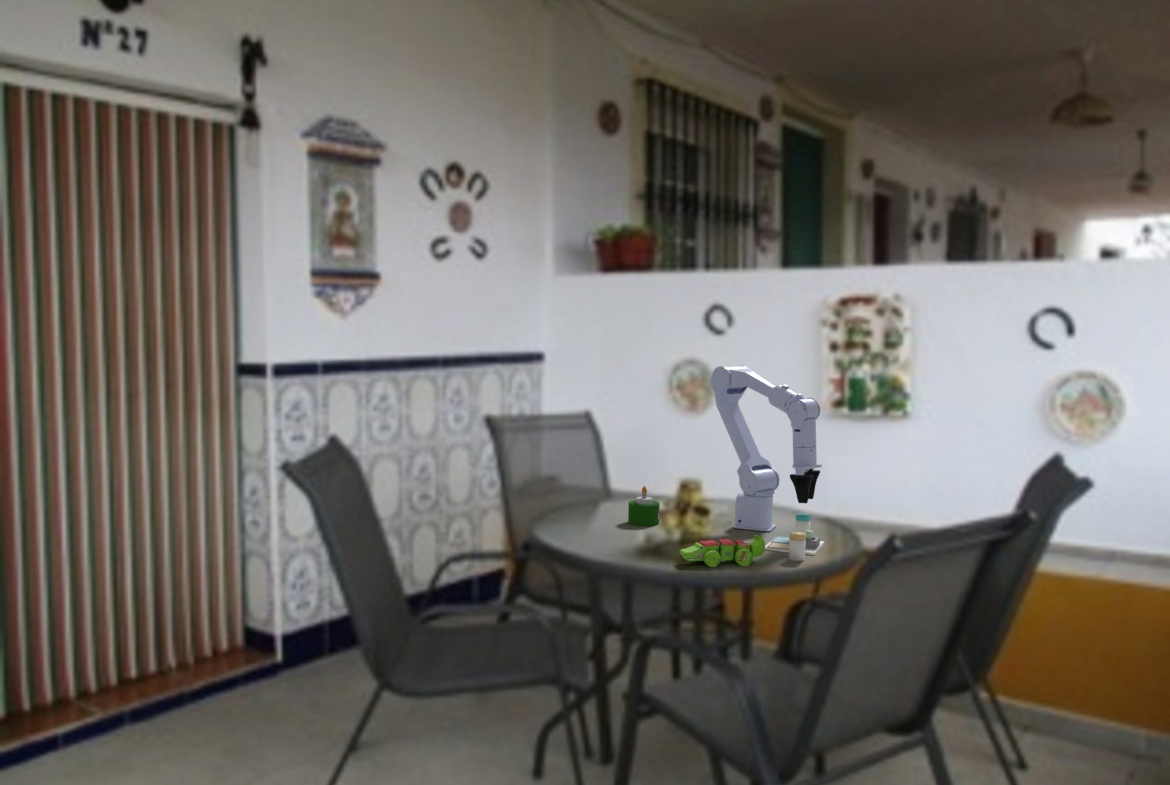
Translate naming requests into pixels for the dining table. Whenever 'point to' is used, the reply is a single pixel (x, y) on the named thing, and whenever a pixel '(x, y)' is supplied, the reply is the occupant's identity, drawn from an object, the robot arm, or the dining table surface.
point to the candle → (643, 511)
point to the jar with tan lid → (797, 546)
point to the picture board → (783, 545)
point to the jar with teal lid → (802, 522)
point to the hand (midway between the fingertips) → (805, 501)
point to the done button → (809, 534)
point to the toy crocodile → (725, 551)
